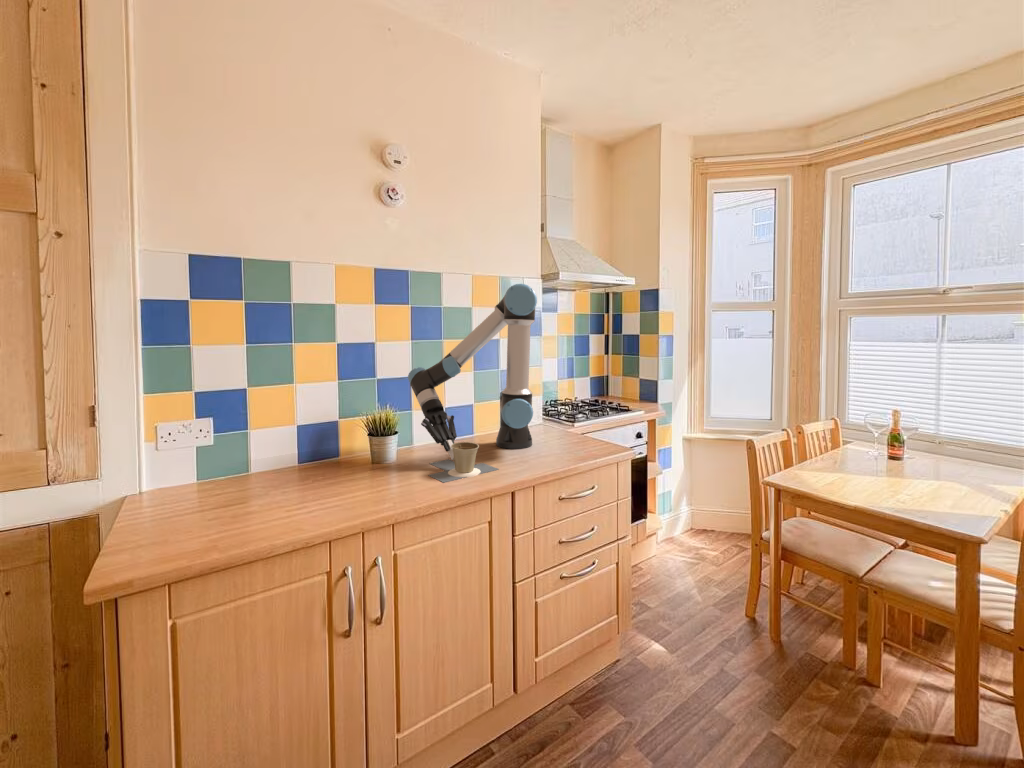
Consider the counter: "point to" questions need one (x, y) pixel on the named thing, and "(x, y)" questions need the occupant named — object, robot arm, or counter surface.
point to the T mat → (452, 474)
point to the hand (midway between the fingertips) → (455, 457)
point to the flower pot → (464, 456)
